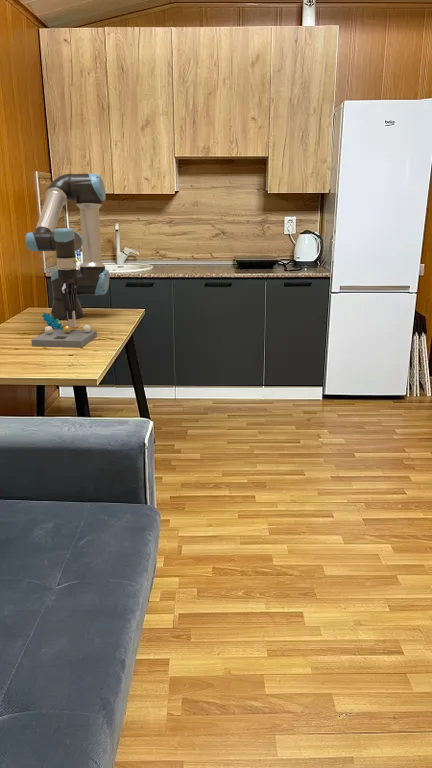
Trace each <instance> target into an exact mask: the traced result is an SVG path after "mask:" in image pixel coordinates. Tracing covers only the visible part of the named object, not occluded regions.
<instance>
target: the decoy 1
mask: <svg viewBox="0 0 432 768" xmlns="http://www.w3.org/2000/svg"><path fill="white" fill-rule="evenodd" d="M44 329H45V330H44V332H46V333H47V334H51V333H52V332H53V329H54V327H53V328H52V327H50V326H48V325H47V326H45V328H44Z"/></svg>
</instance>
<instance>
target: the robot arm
mask: <svg viewBox="0 0 432 768" xmlns="http://www.w3.org/2000/svg"><path fill="white" fill-rule="evenodd" d="M106 195H107V194H106V187H105V184H104V180H103V178H102V177H101V175H100V174H98V173H64V174H62V175H60V176H58V177H56V178H55V179H54V180H53V181H51V183H49V185H48V186H47V188H46V191H45V194H44V196H45V201H44V203H43V206H42V210H41V213H40V215H39V218H38V220H37V221H38V222H37V224H36V227H35V229H34V231H31V232H27V233H26V235H25V240H24V241H25V246H26V248H27V250H28V251H31V252H55V257H56V258H55V259H56V267H57V269H53V270H52V271H51V272H50V282H51V290H52V299H53V300H52V301H53V302H52V307H51V311H50V317H52V316H53V317H54V319H55V320H56V319H61V320H64V321H67V322H68V323H67V325H68V326H70V327H71V328H76V327H77V323H76V320H77V319H81V318H83V317H84V310H83V308H82V305H81V302H80V300H79V296H100V295H101V296H103V295H106V293H108V290H109V285H110V271H109V270H108V269H106V266H105V264H104V263H103V261H102V248H101V247H102V245H101V244H102V243H101V225H100V208H101V207H102V206H103V202H104V201H106V198H107V197H106ZM71 201H72V202H75V206H77V207H78V209H79V217H80V218H79V219H80V233H79V232H77V231H74V229H73V228H69V227H66V228H65V227H64V228H63V227H62V228H57V225H58V222H59V218H60V215H61V213H62V210H63V207H64V206H65V205H66V204H67V202H71ZM81 248H82V249H81ZM80 249H81V250H82V252H81V253H82V263H81V264H80V265H79V269H77V263H78V260H77V258H76V257H77V255H76V252H77V251H78V250H80ZM61 320H60V321H61Z"/></svg>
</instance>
